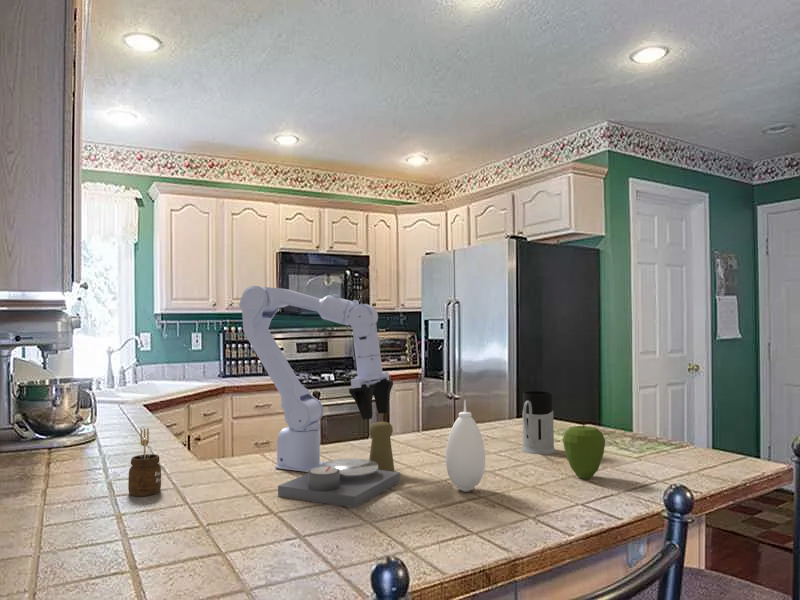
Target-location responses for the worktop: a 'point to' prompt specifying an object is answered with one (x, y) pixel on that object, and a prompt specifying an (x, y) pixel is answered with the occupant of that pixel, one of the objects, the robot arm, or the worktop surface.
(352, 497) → the scale base
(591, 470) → the apple
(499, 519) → the worktop surface
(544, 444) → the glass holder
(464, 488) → the air blower bulb
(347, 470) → the scale pan
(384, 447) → the pepper mill
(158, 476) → the utensil holder
